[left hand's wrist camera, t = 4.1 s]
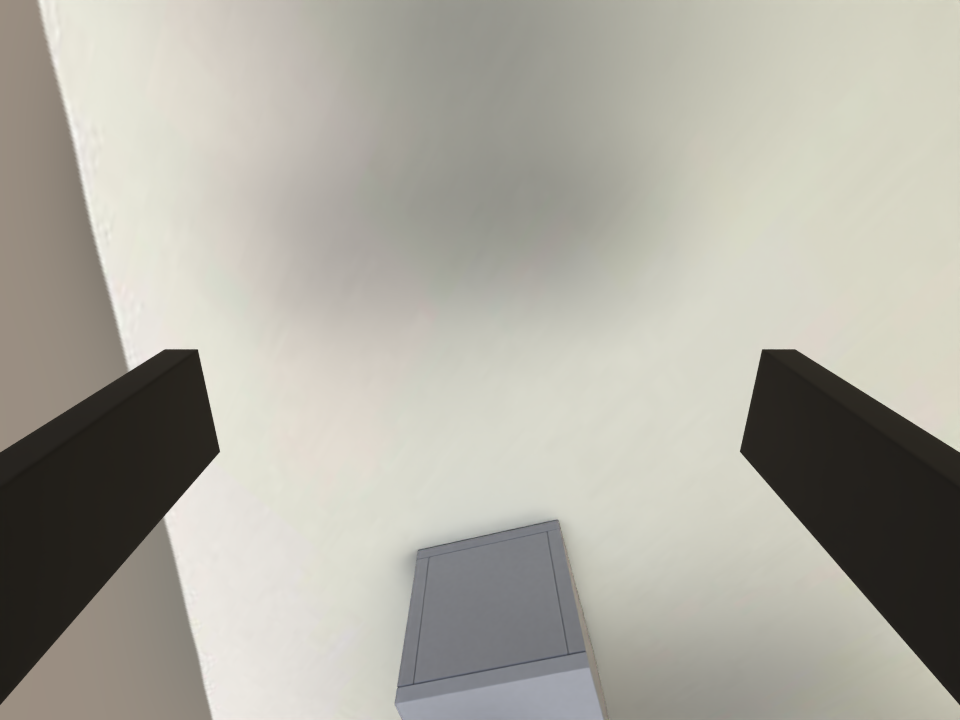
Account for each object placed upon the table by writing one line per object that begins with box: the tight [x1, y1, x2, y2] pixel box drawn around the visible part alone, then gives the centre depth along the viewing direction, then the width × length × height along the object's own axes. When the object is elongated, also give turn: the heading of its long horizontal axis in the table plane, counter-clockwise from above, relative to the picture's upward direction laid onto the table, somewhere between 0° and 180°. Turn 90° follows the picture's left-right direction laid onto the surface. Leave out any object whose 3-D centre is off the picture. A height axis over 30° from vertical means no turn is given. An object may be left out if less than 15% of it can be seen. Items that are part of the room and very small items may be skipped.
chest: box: [397, 520, 609, 720], centre depth 33 cm, size 14×10×10 cm
